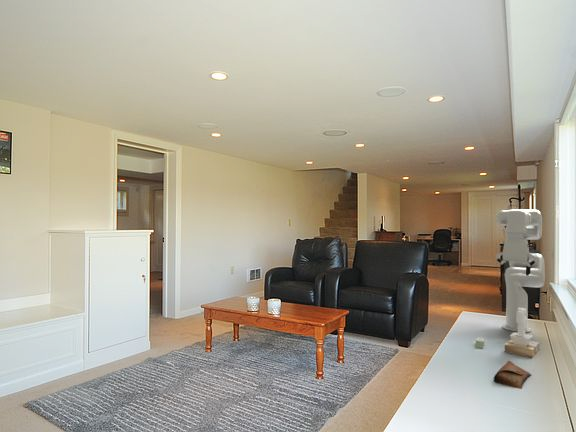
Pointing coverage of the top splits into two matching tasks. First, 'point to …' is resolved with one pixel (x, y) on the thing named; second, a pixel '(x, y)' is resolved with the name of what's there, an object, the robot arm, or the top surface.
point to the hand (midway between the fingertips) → (515, 274)
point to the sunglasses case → (511, 375)
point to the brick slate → (536, 343)
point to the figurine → (521, 329)
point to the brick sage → (480, 342)
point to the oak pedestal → (521, 349)
